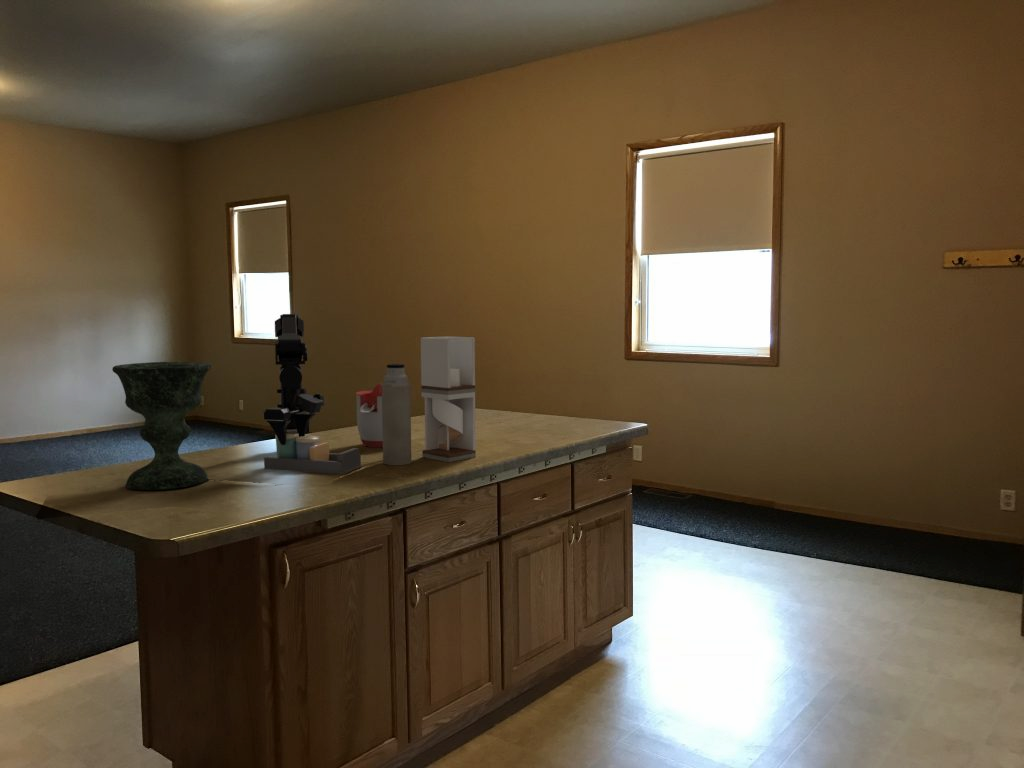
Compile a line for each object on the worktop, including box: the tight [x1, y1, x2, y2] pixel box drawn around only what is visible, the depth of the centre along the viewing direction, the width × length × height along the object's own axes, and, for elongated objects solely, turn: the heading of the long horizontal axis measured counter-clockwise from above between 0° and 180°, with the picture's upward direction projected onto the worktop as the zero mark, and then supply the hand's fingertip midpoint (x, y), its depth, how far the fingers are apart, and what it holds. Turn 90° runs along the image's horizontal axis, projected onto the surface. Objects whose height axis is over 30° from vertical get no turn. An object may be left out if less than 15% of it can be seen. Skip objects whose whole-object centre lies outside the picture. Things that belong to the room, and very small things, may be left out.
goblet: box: [112, 361, 212, 491], centre depth 206 cm, size 22×22×30 cm
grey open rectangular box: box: [263, 447, 362, 477], centre depth 223 cm, size 23×11×6 cm, turn 73°
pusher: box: [310, 442, 330, 461], centre depth 223 cm, size 1×8×6 cm, turn 163°
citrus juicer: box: [355, 382, 383, 448], centre depth 261 cm, size 16×17×20 cm
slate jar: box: [296, 435, 320, 460], centre depth 224 cm, size 6×6×8 cm
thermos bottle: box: [382, 363, 412, 466], centre depth 232 cm, size 8×8×28 cm
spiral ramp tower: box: [420, 336, 477, 463], centre depth 240 cm, size 11×11×35 cm
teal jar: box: [274, 432, 299, 459], centre depth 225 cm, size 6×6×8 cm
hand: (292, 442), depth 224 cm, fingers open, 9 cm apart
